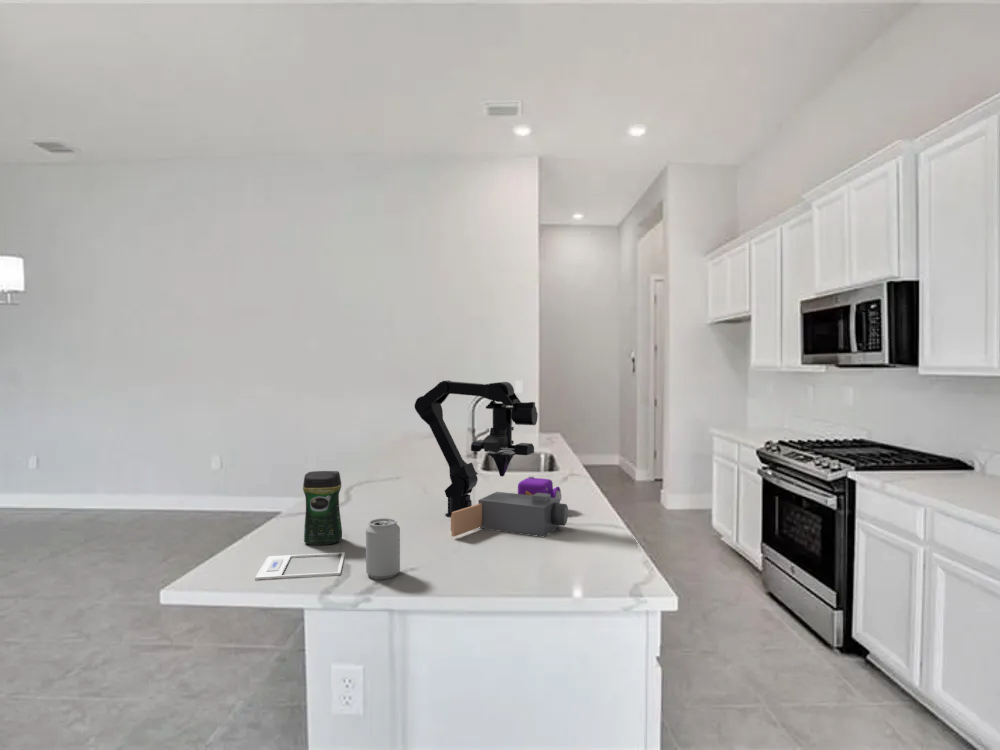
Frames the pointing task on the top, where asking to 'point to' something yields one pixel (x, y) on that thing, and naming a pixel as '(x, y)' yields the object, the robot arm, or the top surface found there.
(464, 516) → the side door
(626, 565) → the top surface
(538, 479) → the toy camera
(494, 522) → the block
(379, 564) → the can
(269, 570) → the photo frame
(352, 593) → the top surface
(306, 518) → the coffee jar
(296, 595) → the top surface
